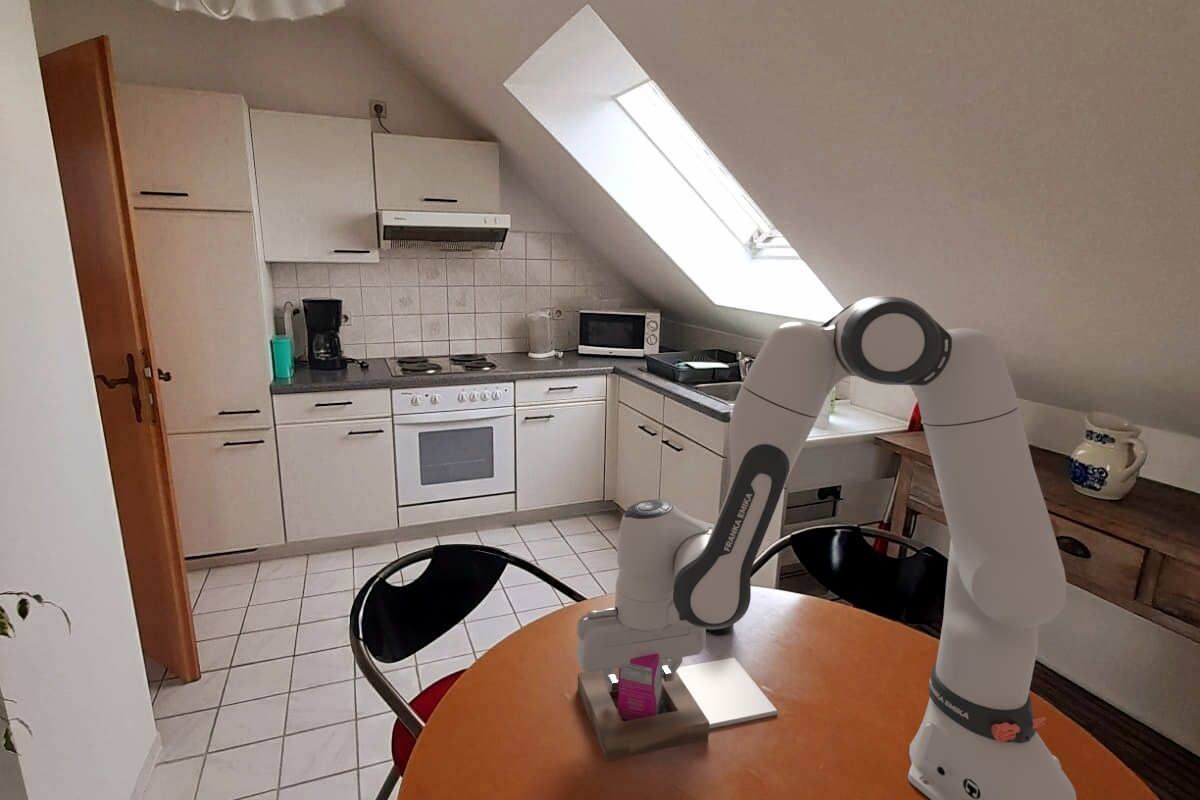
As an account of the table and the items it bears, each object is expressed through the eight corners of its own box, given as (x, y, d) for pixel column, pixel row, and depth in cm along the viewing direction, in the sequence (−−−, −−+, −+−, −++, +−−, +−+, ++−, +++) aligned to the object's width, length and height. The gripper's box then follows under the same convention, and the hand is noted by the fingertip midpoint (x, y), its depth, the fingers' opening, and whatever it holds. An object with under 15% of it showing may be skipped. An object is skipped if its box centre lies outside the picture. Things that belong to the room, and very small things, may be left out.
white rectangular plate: (776, 714, 101) (777, 710, 101) (708, 728, 97) (708, 724, 97) (733, 661, 114) (734, 657, 114) (672, 672, 110) (672, 668, 110)
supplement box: (627, 697, 104) (629, 634, 101) (662, 706, 102) (665, 642, 99) (616, 720, 99) (618, 655, 96) (653, 730, 97) (656, 664, 94)
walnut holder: (708, 739, 95) (709, 722, 94) (606, 761, 90) (607, 743, 90) (666, 673, 110) (667, 658, 109) (577, 689, 105) (577, 673, 105)
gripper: (583, 625, 90) (581, 709, 93) (713, 606, 96) (707, 686, 99) (572, 602, 96) (570, 681, 99) (695, 586, 102) (690, 661, 105)
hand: (639, 684), depth 99 cm, fingers open, 8 cm apart
